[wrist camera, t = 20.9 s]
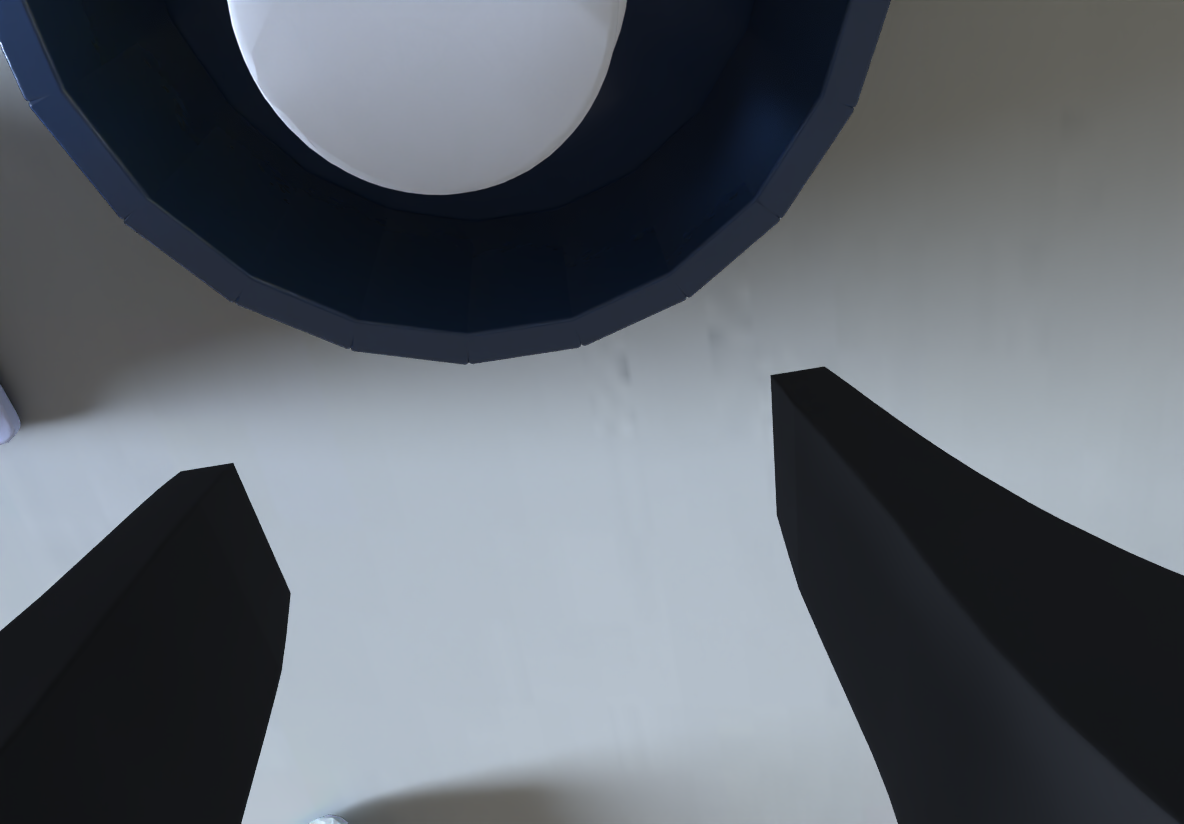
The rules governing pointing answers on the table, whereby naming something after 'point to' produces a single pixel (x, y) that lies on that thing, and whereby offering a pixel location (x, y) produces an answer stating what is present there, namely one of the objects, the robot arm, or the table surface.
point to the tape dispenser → (329, 820)
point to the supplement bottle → (429, 82)
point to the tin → (465, 220)
